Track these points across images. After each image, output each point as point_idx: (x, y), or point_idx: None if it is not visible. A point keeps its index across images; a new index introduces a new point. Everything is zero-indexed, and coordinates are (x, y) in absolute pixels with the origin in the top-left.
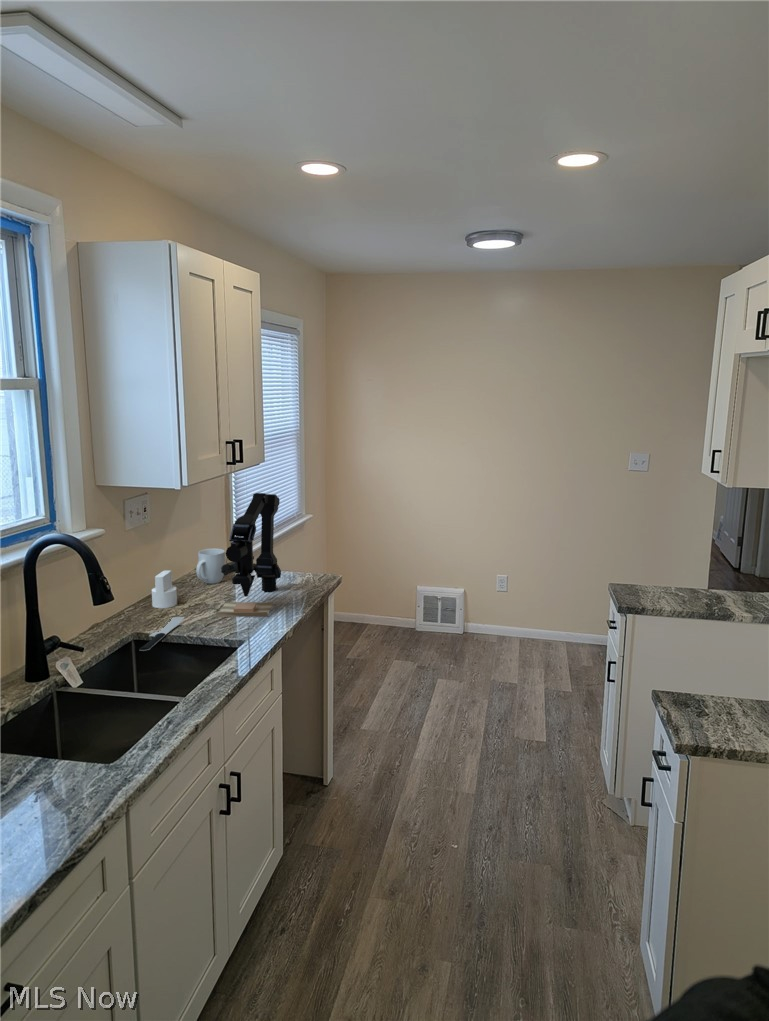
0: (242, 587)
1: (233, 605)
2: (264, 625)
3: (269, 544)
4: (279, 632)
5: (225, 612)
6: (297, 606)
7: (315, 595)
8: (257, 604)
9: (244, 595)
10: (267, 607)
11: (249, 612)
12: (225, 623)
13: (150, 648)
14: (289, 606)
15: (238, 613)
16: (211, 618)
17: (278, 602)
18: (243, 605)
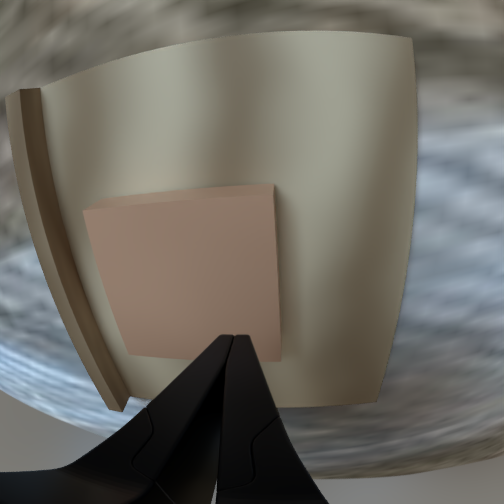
0: (133, 429)
1: (319, 131)
2: (56, 370)
3: None
4: (36, 402)
5: (19, 167)
6: (332, 459)
7: (453, 461)
8: (345, 332)
9: (215, 342)
10: (273, 393)
11: (73, 333)
12: (2, 186)
13: None
14: (336, 442)
15: (44, 264)
16: (50, 52)
17: (414, 397)
18: (187, 277)
